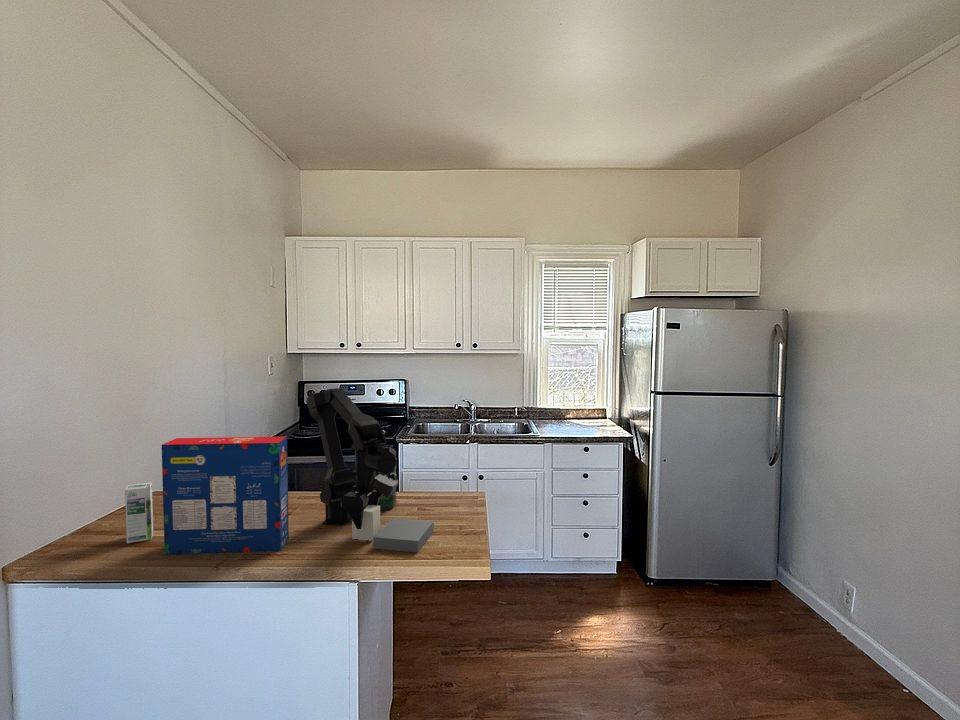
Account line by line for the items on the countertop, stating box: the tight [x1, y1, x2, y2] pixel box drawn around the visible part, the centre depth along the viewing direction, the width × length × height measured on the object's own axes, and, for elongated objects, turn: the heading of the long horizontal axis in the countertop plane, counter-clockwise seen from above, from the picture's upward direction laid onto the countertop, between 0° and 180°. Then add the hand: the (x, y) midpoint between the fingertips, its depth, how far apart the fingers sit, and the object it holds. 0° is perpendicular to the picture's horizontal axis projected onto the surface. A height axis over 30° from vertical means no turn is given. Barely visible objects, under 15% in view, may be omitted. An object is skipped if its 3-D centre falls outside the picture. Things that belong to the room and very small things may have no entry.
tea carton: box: [351, 505, 381, 542], centre depth 144 cm, size 6×5×8 cm
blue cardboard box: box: [161, 435, 290, 556], centre depth 136 cm, size 28×8×28 cm, turn 96°
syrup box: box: [124, 481, 154, 544], centre depth 142 cm, size 6×6×14 cm
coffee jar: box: [378, 446, 397, 511], centre depth 169 cm, size 10×8×19 cm
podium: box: [372, 518, 435, 554], centre depth 142 cm, size 12×14×3 cm
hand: (366, 522), depth 144 cm, fingers open, 9 cm apart
